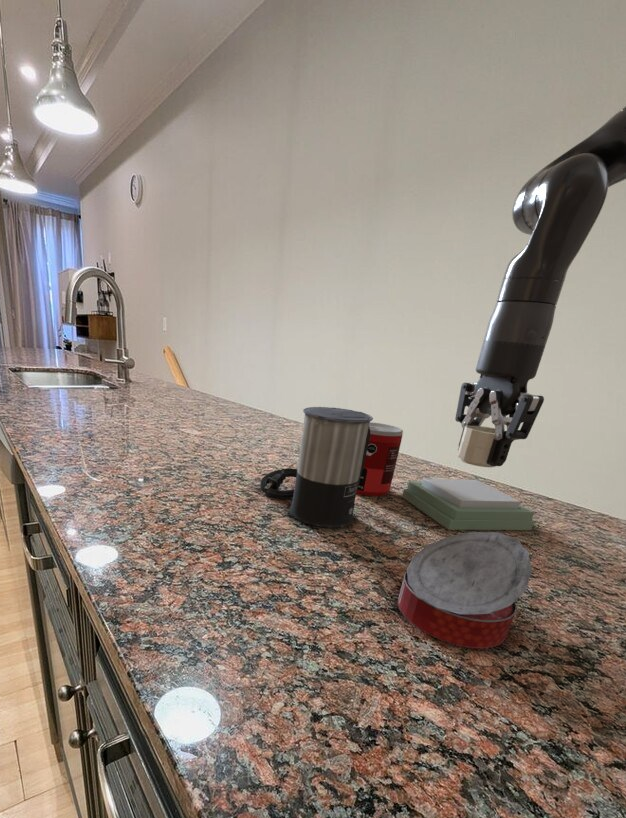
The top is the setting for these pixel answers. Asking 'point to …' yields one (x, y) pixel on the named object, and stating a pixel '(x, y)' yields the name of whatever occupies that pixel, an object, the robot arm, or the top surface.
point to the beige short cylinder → (476, 445)
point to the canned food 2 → (466, 588)
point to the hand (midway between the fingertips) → (478, 458)
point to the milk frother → (325, 467)
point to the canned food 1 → (380, 460)
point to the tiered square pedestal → (470, 494)
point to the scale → (466, 512)
